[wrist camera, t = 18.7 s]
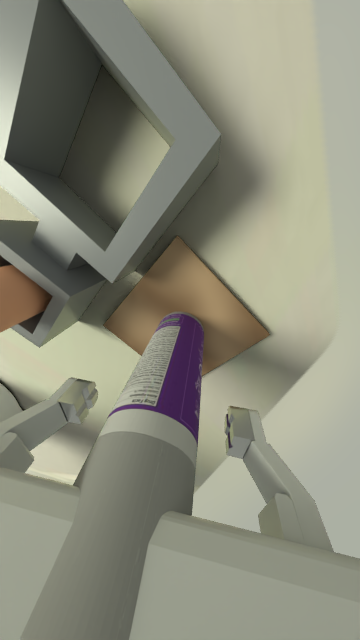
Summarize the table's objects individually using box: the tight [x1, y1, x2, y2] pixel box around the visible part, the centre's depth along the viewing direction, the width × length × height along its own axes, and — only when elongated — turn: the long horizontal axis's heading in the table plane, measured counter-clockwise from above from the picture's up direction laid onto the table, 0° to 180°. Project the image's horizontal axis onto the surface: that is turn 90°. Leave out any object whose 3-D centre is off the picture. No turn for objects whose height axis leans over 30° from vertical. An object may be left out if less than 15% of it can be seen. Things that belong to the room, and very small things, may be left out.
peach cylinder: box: [0, 265, 53, 332], centre depth 13 cm, size 4×4×8 cm
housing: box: [0, 0, 221, 348], centre depth 12 cm, size 20×10×5 cm, turn 137°
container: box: [20, 312, 204, 640], centre depth 11 cm, size 5×5×15 cm
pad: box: [103, 236, 270, 376], centre depth 17 cm, size 12×12×1 cm
